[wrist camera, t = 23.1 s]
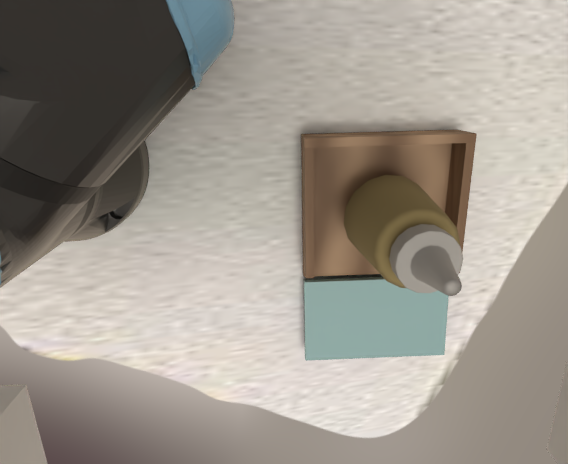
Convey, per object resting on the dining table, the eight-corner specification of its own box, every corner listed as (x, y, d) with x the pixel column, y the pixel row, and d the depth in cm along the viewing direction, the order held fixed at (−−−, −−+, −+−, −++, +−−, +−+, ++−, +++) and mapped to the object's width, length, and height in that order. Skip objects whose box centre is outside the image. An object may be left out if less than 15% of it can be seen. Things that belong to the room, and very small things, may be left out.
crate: (302, 272, 45) (306, 289, 41) (301, 134, 40) (304, 138, 36) (442, 267, 45) (458, 283, 41) (457, 129, 41) (476, 133, 37)
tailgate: (303, 279, 44) (305, 356, 46) (304, 282, 43) (305, 360, 45) (446, 274, 44) (441, 351, 46) (449, 277, 43) (444, 354, 46)
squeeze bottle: (429, 179, 41) (543, 241, 24) (400, 253, 43) (485, 357, 26) (352, 157, 40) (413, 206, 23) (327, 234, 42) (365, 329, 25)
